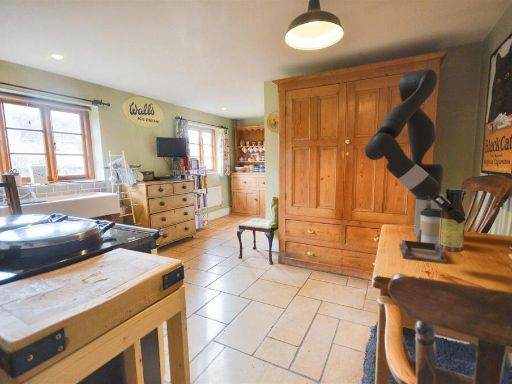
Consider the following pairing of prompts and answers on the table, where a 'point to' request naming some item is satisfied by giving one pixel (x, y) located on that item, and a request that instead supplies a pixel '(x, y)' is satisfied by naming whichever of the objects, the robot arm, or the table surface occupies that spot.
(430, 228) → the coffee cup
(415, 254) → the keeper cradle
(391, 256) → the table surface
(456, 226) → the sauce bottle
